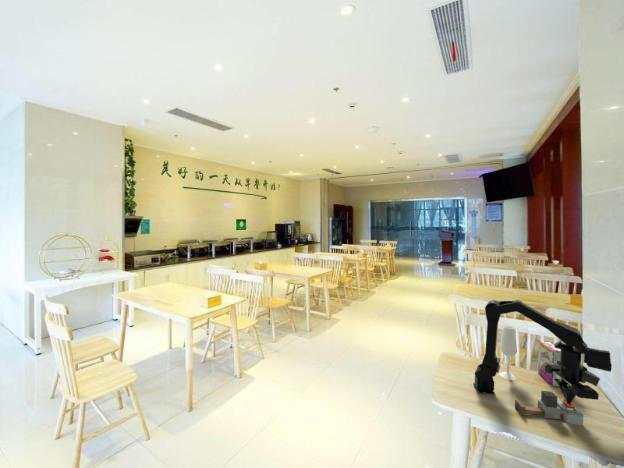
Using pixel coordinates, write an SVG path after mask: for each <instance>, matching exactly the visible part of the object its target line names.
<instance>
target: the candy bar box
mask: <svg viewBox="0 0 624 468" xmlns="http://www.w3.org/2000/svg"><path fill="white" fill-rule="evenodd" d="M554 344H555V343H552V342H551V341H543V340H540V341H538V363H537V364H538V365H537V368H538V369H537V375H539V376H541V378H543V379H544V380H545V381H546V382H547V383H549V385H551V387H556V388H557V387H558V388H559V386H558V384H557V382H556V381H555V379H557V375H556V374H557V373H556V372H552V374H549V373H548V372H546V371H545V366H546V365H548V364H551V365H559V364H557V361H560V352H561V349H558V348H555V347H554Z"/></svg>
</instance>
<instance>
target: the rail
mask: <svg viewBox="0 0 624 468" xmlns="http://www.w3.org/2000/svg"><path fill="white" fill-rule="evenodd" d="M514 409H515V410H516V412H518V414H519V415H520V416H521V417H525V416H526V415H527V416H535V417H542V418H545V417H544V411H543V410H542V409H541V408H540V407H538V406H530V405H524V404H523V403H522V402H521V401H520V400H519V399H515V400H514ZM561 419H562V420H563V413H562V412H561V411H560V420H561Z"/></svg>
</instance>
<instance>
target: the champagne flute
mask: <svg viewBox="0 0 624 468" xmlns="http://www.w3.org/2000/svg"><path fill="white" fill-rule="evenodd" d="M501 331H502V332H501V338H500V345H499V350H500V351H501V353H503V354H504V356H506V364H505V365H506V366H505V371H504V372H500V373H499V372H498V374H499V377H501V378H502V379H505V380H508V381H509V380H510V381H515V380H517V378H516V376H514V375H513V374H512V373H510V363H511V362H510V361H511V360H510V358H511V357H513V356H515V355H516V354H517V353H518V347H517V334H516V333H517V332H516V326H512V325H509V324H507V325H506V324H505V325H503V326H502V330H501Z"/></svg>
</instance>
